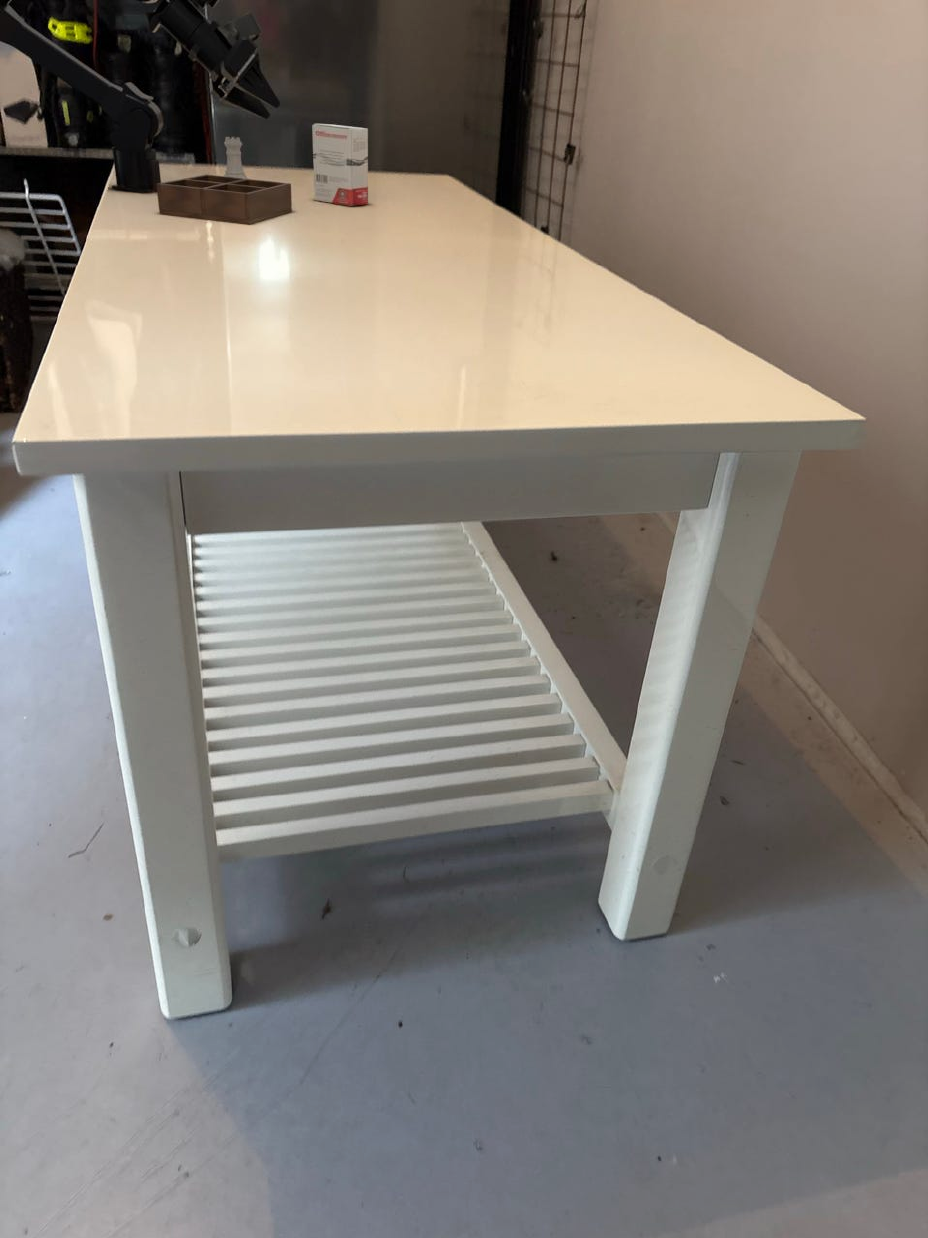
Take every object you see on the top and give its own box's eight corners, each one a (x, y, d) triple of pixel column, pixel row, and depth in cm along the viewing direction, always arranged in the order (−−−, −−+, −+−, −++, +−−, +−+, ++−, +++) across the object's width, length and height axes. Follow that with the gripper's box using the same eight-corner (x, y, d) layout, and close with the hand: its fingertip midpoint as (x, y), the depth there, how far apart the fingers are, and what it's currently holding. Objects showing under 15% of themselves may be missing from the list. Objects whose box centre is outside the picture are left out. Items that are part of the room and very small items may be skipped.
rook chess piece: (245, 189, 161) (242, 139, 157) (220, 187, 161) (216, 137, 157) (251, 186, 165) (248, 137, 161) (226, 184, 165) (223, 135, 161)
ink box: (369, 204, 156) (370, 127, 150) (352, 206, 152) (351, 127, 146) (330, 197, 160) (329, 122, 153) (312, 200, 156) (310, 122, 150)
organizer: (159, 213, 135) (156, 183, 133) (208, 201, 147) (206, 174, 145) (249, 224, 132) (248, 193, 130) (292, 211, 144) (291, 183, 142)
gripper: (234, -27, 135) (315, 59, 142) (218, 10, 152) (291, 86, 159) (189, 32, 135) (272, 115, 143) (178, 62, 152) (253, 136, 159)
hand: (273, 111), depth 151 cm, fingers open, 9 cm apart
